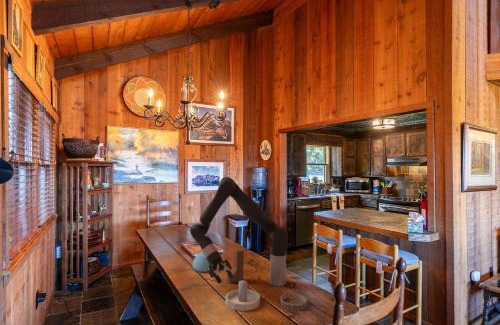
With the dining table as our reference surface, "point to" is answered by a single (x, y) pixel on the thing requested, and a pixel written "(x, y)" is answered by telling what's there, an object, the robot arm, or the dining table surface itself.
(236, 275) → the wooden block
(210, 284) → the dining table surface
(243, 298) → the grey peg
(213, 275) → the robot arm
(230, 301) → the round tray
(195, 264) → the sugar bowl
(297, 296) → the bracelet
